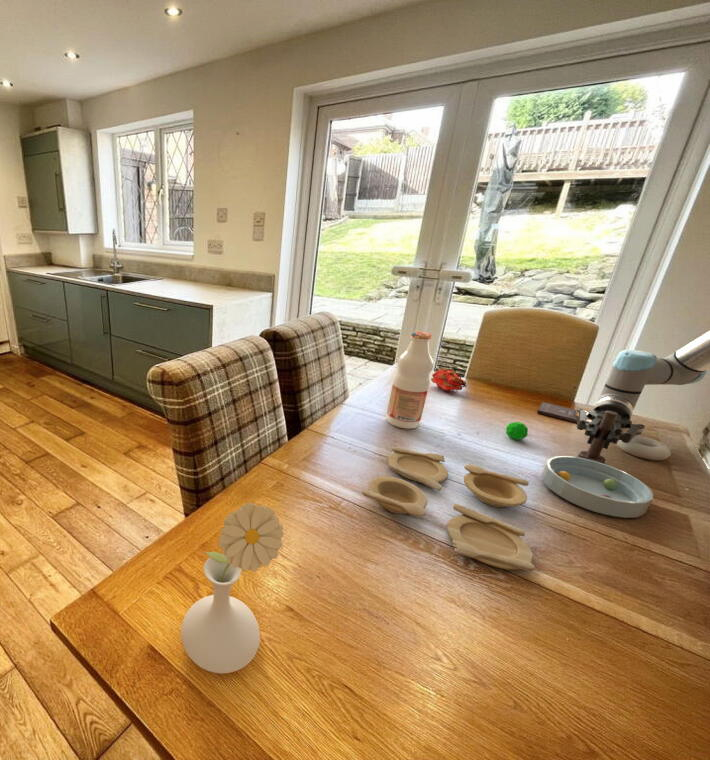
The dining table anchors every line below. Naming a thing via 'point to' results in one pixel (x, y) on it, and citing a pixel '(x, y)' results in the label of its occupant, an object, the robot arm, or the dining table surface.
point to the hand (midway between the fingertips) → (599, 441)
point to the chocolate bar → (559, 412)
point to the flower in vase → (221, 611)
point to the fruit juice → (411, 383)
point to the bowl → (597, 487)
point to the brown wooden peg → (600, 438)
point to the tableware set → (459, 507)
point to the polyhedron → (516, 430)
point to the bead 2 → (610, 484)
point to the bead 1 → (564, 475)
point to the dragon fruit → (448, 380)
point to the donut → (645, 448)
